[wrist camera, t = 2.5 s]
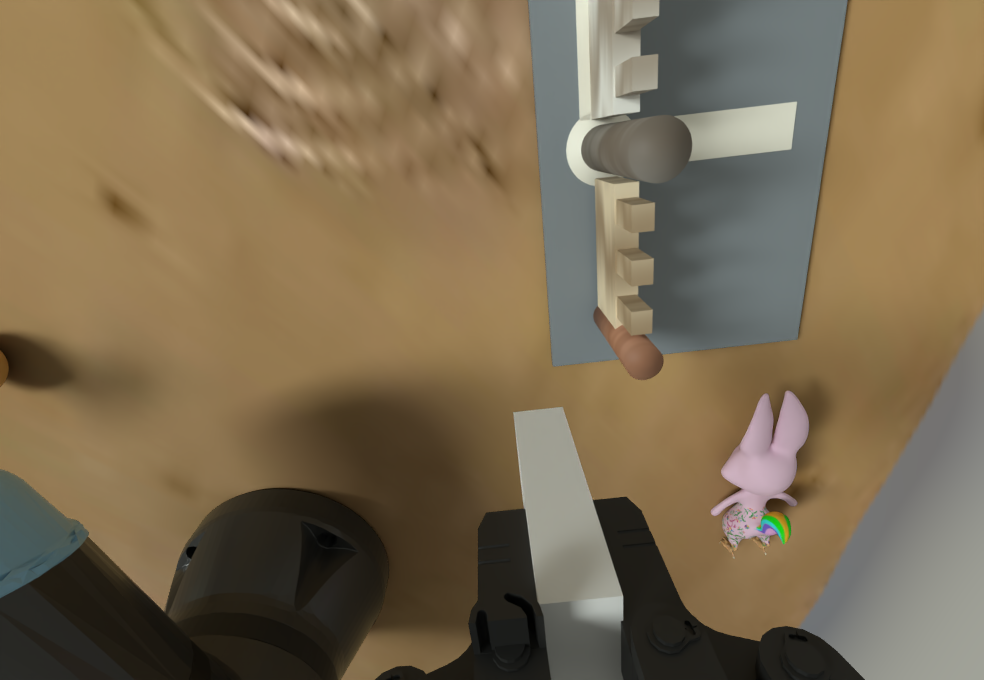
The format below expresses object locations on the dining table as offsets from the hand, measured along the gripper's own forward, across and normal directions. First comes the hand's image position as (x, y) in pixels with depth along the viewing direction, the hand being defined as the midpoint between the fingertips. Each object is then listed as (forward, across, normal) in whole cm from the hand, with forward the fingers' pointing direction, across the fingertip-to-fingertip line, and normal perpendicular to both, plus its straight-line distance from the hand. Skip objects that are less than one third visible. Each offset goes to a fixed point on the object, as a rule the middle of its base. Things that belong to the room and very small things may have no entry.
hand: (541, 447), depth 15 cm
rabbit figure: (+17, -16, +15) cm, 28 cm away
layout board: (+16, -10, -8) cm, 21 cm away
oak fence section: (+15, -6, -2) cm, 16 cm away
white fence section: (+16, -6, -13) cm, 21 cm away
